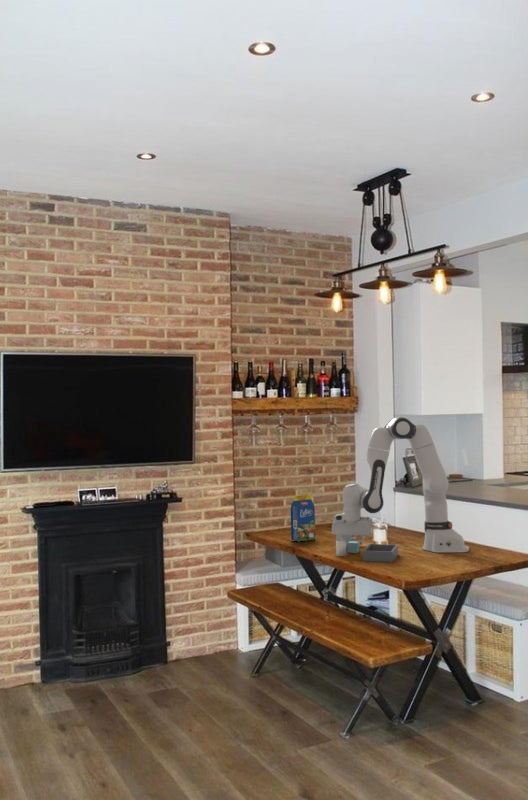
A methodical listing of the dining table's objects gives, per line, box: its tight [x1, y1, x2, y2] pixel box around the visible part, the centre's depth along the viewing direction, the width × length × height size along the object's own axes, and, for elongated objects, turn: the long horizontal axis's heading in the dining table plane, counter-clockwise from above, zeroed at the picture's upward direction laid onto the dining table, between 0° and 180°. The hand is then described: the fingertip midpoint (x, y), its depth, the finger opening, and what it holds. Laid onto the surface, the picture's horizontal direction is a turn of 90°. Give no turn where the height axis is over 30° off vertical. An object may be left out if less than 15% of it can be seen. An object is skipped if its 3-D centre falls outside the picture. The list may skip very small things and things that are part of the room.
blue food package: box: [290, 493, 316, 543], centre depth 407 cm, size 6×12×25 cm, turn 124°
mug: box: [335, 534, 358, 549], centre depth 387 cm, size 12×8×11 cm
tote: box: [362, 543, 399, 563], centre depth 354 cm, size 14×18×5 cm
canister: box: [335, 540, 347, 557], centre depth 363 cm, size 5×5×7 cm
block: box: [346, 540, 360, 554], centre depth 372 cm, size 5×5×5 cm
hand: (352, 543), depth 372 cm, fingers open, 8 cm apart
